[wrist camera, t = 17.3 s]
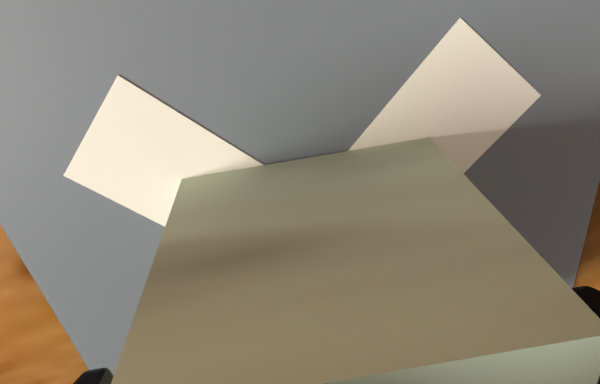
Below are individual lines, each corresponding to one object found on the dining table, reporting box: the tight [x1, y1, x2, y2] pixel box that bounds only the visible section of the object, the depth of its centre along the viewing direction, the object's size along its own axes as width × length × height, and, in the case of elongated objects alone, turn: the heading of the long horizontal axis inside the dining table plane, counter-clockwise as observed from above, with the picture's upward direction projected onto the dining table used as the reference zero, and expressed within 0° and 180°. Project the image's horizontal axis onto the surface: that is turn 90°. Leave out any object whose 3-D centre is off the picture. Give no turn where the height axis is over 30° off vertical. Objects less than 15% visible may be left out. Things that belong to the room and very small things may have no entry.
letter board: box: [0, 0, 600, 376], centre depth 11 cm, size 16×14×1 cm
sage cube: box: [111, 137, 600, 384], centre depth 8 cm, size 6×6×6 cm
